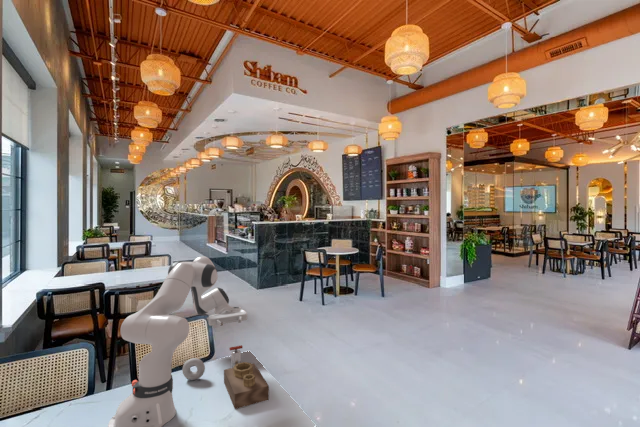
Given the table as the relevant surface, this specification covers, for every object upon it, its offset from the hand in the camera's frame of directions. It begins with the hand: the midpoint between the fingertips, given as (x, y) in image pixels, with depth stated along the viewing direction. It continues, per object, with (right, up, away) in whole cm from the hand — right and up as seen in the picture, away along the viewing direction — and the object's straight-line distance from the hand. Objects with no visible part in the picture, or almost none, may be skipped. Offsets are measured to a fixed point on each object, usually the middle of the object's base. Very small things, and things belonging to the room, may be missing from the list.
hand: (230, 322), depth 169 cm
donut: (-12, -21, -17) cm, 30 cm away
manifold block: (+14, -21, -27) cm, 36 cm away
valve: (+5, -21, -11) cm, 24 cm away
